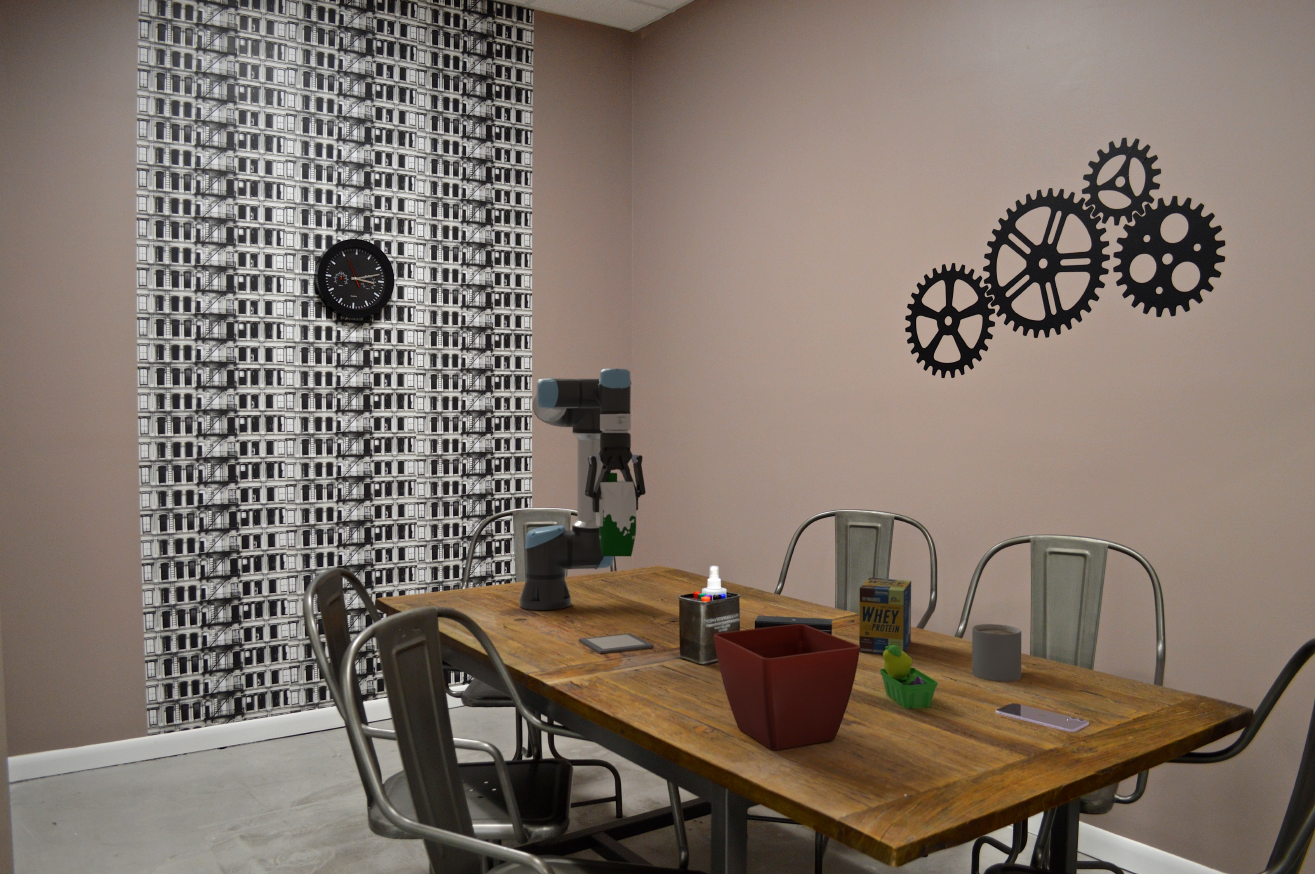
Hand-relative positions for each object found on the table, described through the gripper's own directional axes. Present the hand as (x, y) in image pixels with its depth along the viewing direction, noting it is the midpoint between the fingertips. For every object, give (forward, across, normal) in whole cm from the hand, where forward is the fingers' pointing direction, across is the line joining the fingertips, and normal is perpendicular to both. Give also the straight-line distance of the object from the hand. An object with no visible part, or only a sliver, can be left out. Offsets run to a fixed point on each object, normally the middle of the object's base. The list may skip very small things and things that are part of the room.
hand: (615, 524), depth 226 cm
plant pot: (+30, +1, -73) cm, 79 cm away
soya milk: (+8, +1, 0) cm, 8 cm away
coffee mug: (+30, +65, -61) cm, 94 cm away
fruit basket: (+30, +33, -67) cm, 80 cm away
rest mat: (+29, 0, 0) cm, 29 cm away
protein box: (+30, +58, -31) cm, 72 cm away
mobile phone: (+30, +49, -86) cm, 103 cm away
